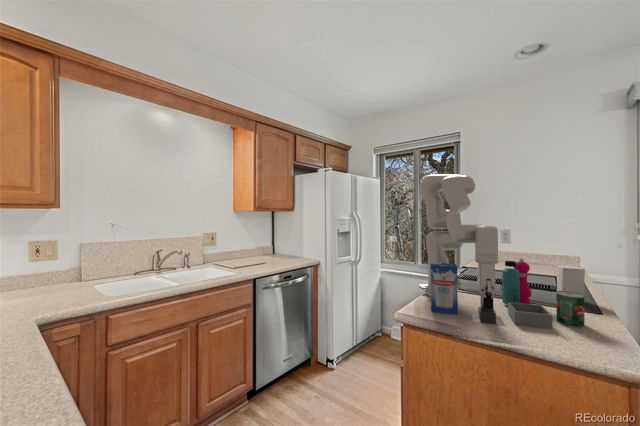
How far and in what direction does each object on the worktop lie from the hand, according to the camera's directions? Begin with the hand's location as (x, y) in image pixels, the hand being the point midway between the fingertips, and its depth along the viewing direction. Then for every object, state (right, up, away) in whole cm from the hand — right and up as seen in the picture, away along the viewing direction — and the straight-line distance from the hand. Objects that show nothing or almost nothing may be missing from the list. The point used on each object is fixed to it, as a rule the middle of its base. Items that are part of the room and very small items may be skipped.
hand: (486, 305), depth 109 cm
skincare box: (+51, -5, +22) cm, 56 cm away
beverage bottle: (+19, -6, +15) cm, 25 cm away
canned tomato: (+29, -6, -3) cm, 30 cm away
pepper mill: (+28, -6, +21) cm, 36 cm away
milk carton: (-12, -6, +9) cm, 17 cm away
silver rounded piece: (0, -5, 0) cm, 5 cm away
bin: (+14, -6, -2) cm, 16 cm away
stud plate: (0, -6, 0) cm, 6 cm away
